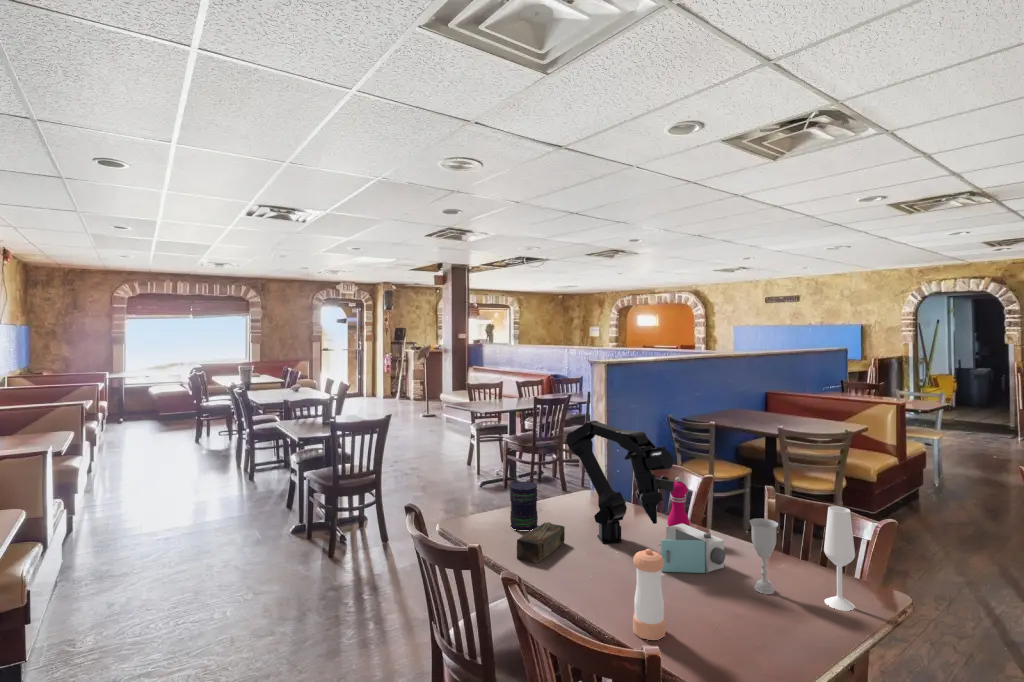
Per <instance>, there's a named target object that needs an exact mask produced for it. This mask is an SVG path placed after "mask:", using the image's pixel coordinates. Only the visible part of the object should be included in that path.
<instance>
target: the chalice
mask: <svg viewBox="0 0 1024 682" xmlns="http://www.w3.org/2000/svg"><path fill="white" fill-rule="evenodd" d="M749 524H750V526H751V541H752V546H753V548H754V550H755V551H756V554H757V556H758V557H760V558H761V563H760V566H761V570H760V573H761V579H758V580H757V581H756V583H755V586H754V587H753V589H754V588H755V590H756V591H758V592H760V593H759V594H761V593H765V594H764V595H766V594H771V593H774V591H775V590H774V587H773V584H772V583H771V581H770V580H768V579H767V574H768V573H769V572H768V570H767V566H768V564H767V559H769V558H770V557H771V555H772V553H773V552H774V551H775V546H776V545H777V528H778V527H779V523H778V521H777V522H776V521H775V520H772V519H769V518H768V519H767V518H761V517H760V518H756V517H755V518H752V519H749ZM755 590H754V591H755ZM756 591H755V592H756ZM758 592H757V593H758ZM774 594H775V593H774ZM771 595H772V594H771Z"/></svg>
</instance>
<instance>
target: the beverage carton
mask: <svg viewBox="0 0 1024 682" xmlns="http://www.w3.org/2000/svg"><path fill="white" fill-rule="evenodd" d="M565 529H566V527H565V526H564V525H560V524H556V523H555V524H554V523H552V522H550V521H547V522H544V523H542V524H541V525H538V527H537V528H535V529H533V530H532V531H529V532H526V533H525V534H524V535H522V536H521V537H519V538H517V539H516V559H518V560H521V561H525V562H529V563H532V564H537V565H538V564H539V563H540V562H541V561H543V560H544V559H546V558H547V557H549V555H551V554H552V553H553V552H555V551H556V550H558V547H559V546H560V545H561V544H562V543H563V544H565V534H566V533H565ZM563 544H562V545H563ZM562 545H561V546H562ZM561 546H560V547H561ZM560 547H559V548H560ZM555 549H556V550H555ZM554 550H555V551H554Z"/></svg>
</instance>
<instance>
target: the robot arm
mask: <svg viewBox="0 0 1024 682" xmlns="http://www.w3.org/2000/svg"><path fill="white" fill-rule="evenodd" d="M596 436H598V437H600V438H603V439H606V440H609V441H612V442H614V443H617V444H618V445H619V446H620V448H622V449H624V450H626V451H627V454H626V456H625V457H624V460H625V461H627V460H630V465H631V468H632V472H633V478H634V481H635V485H636V491H635V495H636V496H635V497H636V498H637V500H639V499H640V500H639V501H638V502H639V504H640V505H641V507H642V509H643V510H644V511H645V513H646V514H647V516H648V517H649V520H650V521H651V522H652V524H653V525H654V524H657V523H658V514H657V512H658V510H657V509H658V507H657V506H658V504H659V503H660V502H662V501H664V498H663V495H662V494H663V493H661V492H660V490H662V491H668V492H669V493H670V492H673V491H674V482H675V480H674V481H673V480H670V479H669V478H668V476H665V475H661V477H660V478H657V477H656V474H654V473H653V471H654V472H655V471H663V470H670V469H671V468H672V467H673V465H674V459H673V458H674V457H673V456H672V454H671V452H670V451H669V450H668V449H667V448H666V446H665V445H663V446H659V447H657V446H656V445H655V444H654V443H653V442H652V441H651V440H650V439H649V437H647V435H646V433H645V432H644V431H642V430H628V429H627V430H626V429H621V428H618V427H616V426H615V427H614V426H612V425H609V424H605V423H602V422H600V421H598V420H588V421H586V422H585V423H584V424H582V425H581V426H580V427H578V428H576V429H575V430H573V431H570V432H568V434H567V436H566V439H565V442H566V444H567V446H568V448H569V450H570V451H571V452H572V453H573V454H574V455H576V456H577V457H578V458H579V459H580V462H581V463H582V465H583V468H584V469H585V471H586V473H587V476H588V478H589V479H590V481H591V483H592V486H593V488H594V490H595V492H596V493H597V495H598V497H597V498H598V502H597V505H598V509H599V510H598V511H597V512H596V513H595V515H594V521H595V523H597V524H598V535H597V538H598V539H599V540H600V542H601V543H602V544H613V543H615V544H616V543H622V526H621V525H620V523H621V522H620V521H623V520H624V517H625V516H626V513H627V510H628V508H627V504H626V503H627V501H626V499H624V497H623V495H622V493H621V492H620V491H617V492H616V491H615V490H613V489H612V487H611V485H610V483H609V481H608V479H607V477H606V475H605V473H604V471H603V469H602V468H601V465H600V463H599V462H598V460H597V458H596V456H595V454H594V451H593V445H594V444H593V440H592V439H594V438H595V437H596Z"/></svg>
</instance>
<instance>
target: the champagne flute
mask: <svg viewBox="0 0 1024 682" xmlns="http://www.w3.org/2000/svg"><path fill="white" fill-rule="evenodd" d="M852 523H853V522H852V514H851V510H850V508H847V507H843V506H836V505H835V506H834V505H833V506H828V507H827V517H826V526H825V535H824V547H823V552H824V554H825V556H826V557H827V558H828V560H829V561H831V563H832V564H833V565H835V566H836V595H835V596H831V597H827V598H825V599H824V604H825V605H827V606H828V605H829V606H828V607H829V608H832V609H834V608H835V610H839V611H844V612H850V610H852V611H854V610H855V609H856V606H855V605H854V603H852V602H851V601H850V600H848V599H846V598H845V597H843V567H845V566H847V565H849V564H850V563H851V562H853V560H854V559H855V557H856V551H855V543H854V541H855V540H854V532H853V524H852ZM854 608H855V609H854ZM853 609H854V610H853Z"/></svg>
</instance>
